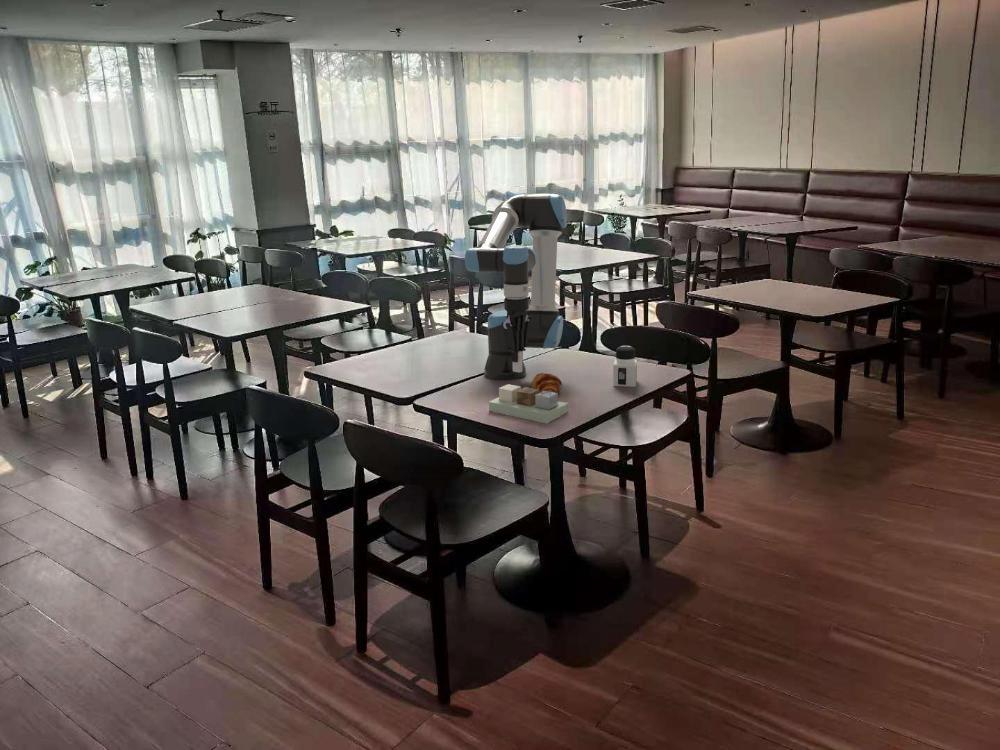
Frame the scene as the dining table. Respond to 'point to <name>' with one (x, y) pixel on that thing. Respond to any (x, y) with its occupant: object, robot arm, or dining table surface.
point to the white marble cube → (546, 400)
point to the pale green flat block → (528, 410)
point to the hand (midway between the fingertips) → (517, 371)
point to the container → (625, 367)
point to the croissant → (546, 383)
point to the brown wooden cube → (527, 396)
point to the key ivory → (508, 393)
